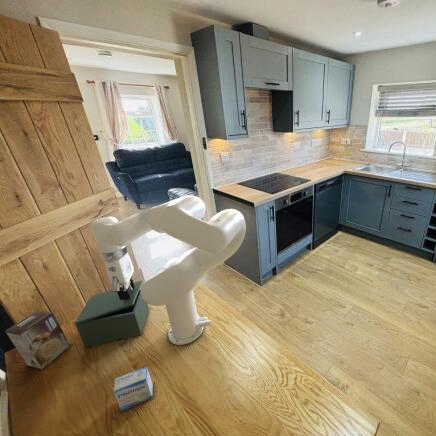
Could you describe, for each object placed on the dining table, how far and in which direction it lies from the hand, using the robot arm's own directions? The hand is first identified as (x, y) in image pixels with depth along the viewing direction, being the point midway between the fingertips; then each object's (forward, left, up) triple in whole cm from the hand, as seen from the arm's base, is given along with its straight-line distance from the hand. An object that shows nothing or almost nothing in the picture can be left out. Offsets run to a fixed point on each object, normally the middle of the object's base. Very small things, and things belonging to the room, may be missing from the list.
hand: (127, 293), depth 89 cm
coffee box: (+25, +7, -15) cm, 30 cm away
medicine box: (-7, +31, -15) cm, 35 cm away
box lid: (+6, 0, -2) cm, 6 cm away
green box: (+6, 0, -15) cm, 16 cm away
